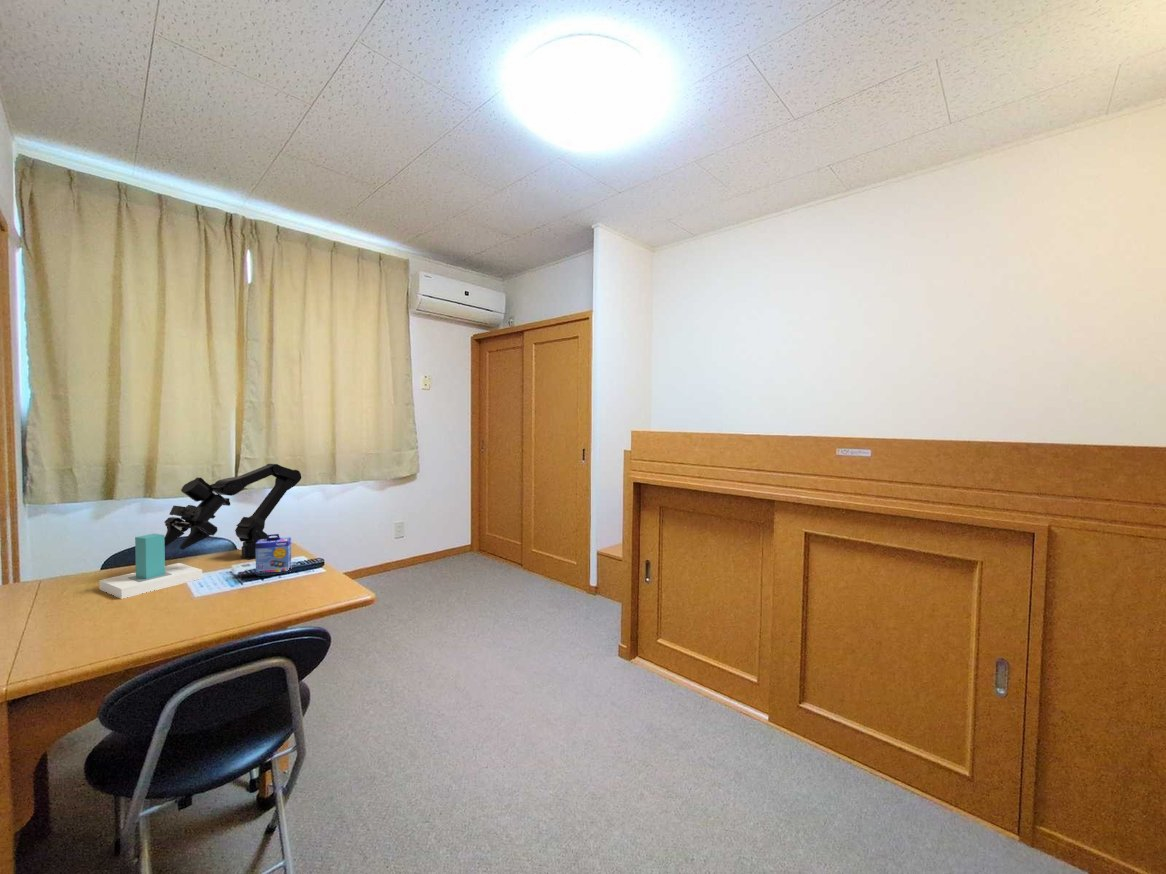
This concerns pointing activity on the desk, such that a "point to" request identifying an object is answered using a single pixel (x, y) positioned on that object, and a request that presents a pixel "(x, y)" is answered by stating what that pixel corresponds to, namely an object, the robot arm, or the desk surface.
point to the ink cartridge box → (273, 554)
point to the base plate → (149, 581)
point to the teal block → (150, 555)
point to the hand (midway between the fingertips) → (171, 547)
